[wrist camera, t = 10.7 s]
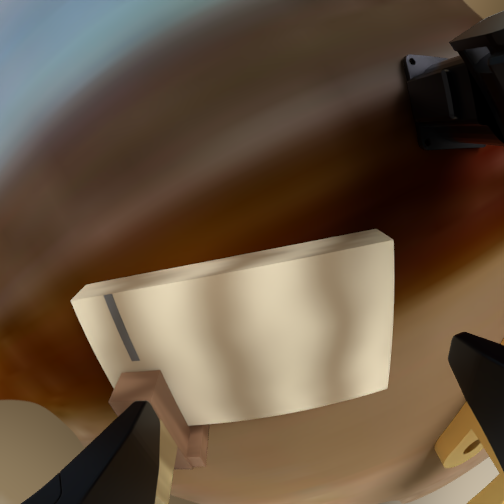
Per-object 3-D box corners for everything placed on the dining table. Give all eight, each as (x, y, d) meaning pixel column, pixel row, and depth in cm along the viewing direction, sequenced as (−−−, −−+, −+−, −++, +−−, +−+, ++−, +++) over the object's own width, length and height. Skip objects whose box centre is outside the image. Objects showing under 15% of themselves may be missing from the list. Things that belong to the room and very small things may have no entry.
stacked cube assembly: (179, 350, 20) (149, 470, 11) (209, 421, 23) (202, 524, 13) (118, 356, 20) (69, 460, 11) (155, 424, 23) (134, 519, 13)
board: (376, 228, 19) (393, 239, 16) (376, 369, 23) (387, 388, 20) (86, 284, 19) (69, 300, 17) (144, 406, 23) (137, 427, 21)
